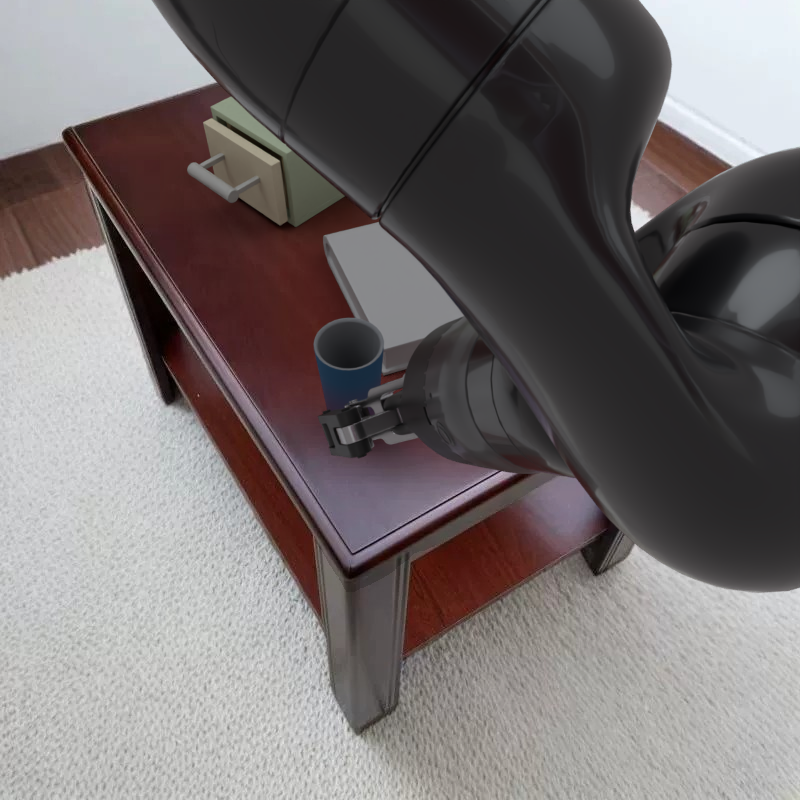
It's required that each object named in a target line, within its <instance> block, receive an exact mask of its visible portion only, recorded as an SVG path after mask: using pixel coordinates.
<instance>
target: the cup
mask: <svg viewBox="0 0 800 800" xmlns="http://www.w3.org/2000/svg"><path fill="white" fill-rule="evenodd" d="M383 351H384V339H383V336H382V334H381V332H380V331H379V330H378V328H377V327H376V326H374V325H373V324H371V323H370V322H368V321H365V320H362V319H358V318H355V317H343V318H342V317H341V318H338V319H334V320H332V321H330V322H327V323H326V324H325V325H323V326H322V327H321V328H320V329H319V330H318V331H317V332H316V335H315V337H314V340H313V352H314V355H315V360H316V366H317V370H318V374H319V379H320V380H319V381H320V384H321V388H322V393H323V398H324V403H325V407H326V410H328V409H331V411H333V410H336V409H343V408H345V407H344V406H345V404H347V403H349V401H352V400H354V399H357V400H361V399H365V398H367V397H368V392H369V390H370V389H372V388H374V387H377V386H379V385H382V375H383V374H382V362H383ZM367 408H368V410H369V413H370V415H374V414H375V413H374V410H373V409H372V408H371V407H367Z"/></svg>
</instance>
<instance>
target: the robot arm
mask: <svg viewBox="0 0 800 800" xmlns="http://www.w3.org/2000/svg"><path fill="white" fill-rule="evenodd" d="M151 2H152V3H153V4H154V6H155V8H156V9H157V10H158V12H159V13H160V15H161V16H162V18H163V19H164V21H165V22H166V23H167V25H168V26H169V28H170V29H171V30H172V31H173V33H174V34H175V35H176V37H177V38H178V39H179V40H180V41H181V43H182V44H183V45H184V47H185V48H186V49H187V50H188V52H189V53H190V55H192V57H193V58H194V59H195V60H196V61H197V62H198V63H199V64H200V65H201V67H202V68H203V69H204V70H205V71H206V72H207V73H208V74H209V75H210V76H211V78H212V79H214V81H215V82H216V83H217V84H218V85H219V86H220V87H221V88H222V89H223V90H224V91H225V92H226V93H227V94H228V95H229V97H232V98H233V99H234V100H235V101H237V102H238V103H239V104H240V105H241V106H242V107H243V108H244V109H245V110H246V111H247V112H248V113H249V114H250V115H251V116H252V117H253V118H255V119H256V120H257V121H258V122H259V123H260V124H261V125H263V126H264V127H265V128H266V129H267V130H268V131H270V132H271V133H272V134H273V135H274V136H275V137H276V138H278V139H279V140H280V141H281V142H282V143H283V144H286V146H287V147H288V148H289V149H291V150H292V151H293V152H294V153H295V154H296V155H298V156H299V157H300V158H301V159H302V160H303V161H305V162H306V163H307V164H308V165H309V166H310V167H312V168H313V169H314V170H315V171H316V172H317V173H319V174H320V175H321V176H322V177H323V178H324V179H325V180H327V181H328V182H329V183H330V184H331V185H332V186H334V187H335V188H336V189H337V190H338V191H339V192H341V193H342V194H343V195H344V196H345V197H344V198H346V199H348V200H349V202H351V203H352V204H353V205H354V206H356V208H358V209H359V210H360V211H361V212H362V213H364V215H366V216H367V217H369V219H371V220H378V222H379V225H380V226H381V228H382V229H383V230H385V231H386V232H387V233H388V234H389V235H391V236H392V237H393V238H394V239H395V240H396V241H397V242H399V243H400V244H401V245H402V246H403V247H404V248H405V249H407V250H408V251H409V252H410V253H411V254H412V255H413V256H414V257H415V258H416V259H417V260H418V261H419V262H420V263H421V264H422V266H423V267H424V268H425V269H426V270H427V271H428V272H429V273H430V275H431V276H432V277H433V278H434V279H435V280H436V281H437V283H438V284H439V285H440V286H441V287H442V289H443V290H444V291H445V292H446V294H447V295H448V296H449V297H450V299H451V300H452V301H453V302H454V304H455V305H456V306H457V307H458V309H459V310H460V311H461V312H462V314H463V315H464V316H463V317H460V318H458V319H455V320H453V321H450V322H448V323H445V324H443V325H441V326H439V327H438V328H436V329H435V330H433V331H432V332H431V333H429V334H428V335H427V336H426V337H425V338H424V339H423V340H422V341H421V343H420V344H419V345H418V346H417V348H416V349H415V351H414V353H413V354H412V356H411V358H410V361H409V363H408V366H407V369H405V373H404V374H403V375H402V377H400V378H396V379H394V380H391V381H387V382H385V383H381V385H379V386H377V387H374V388H372V389H370V390H369V392H368V397H367V398H365V399H361V400H357V399H354V400H352V401H349V403H347V404H345V406H344V407H345V408H343V409H336V410H333V411H331V409H328V410H327V409H326V410H323V411H322V414H319V415H317V419H318V423H319V424H320V425H321V427H322V430H323V433H324V436H325V438H326V442H327V445H328V449H329V452H330V455H331V456H335V457H342V458H348V459H354V458H357V459H361V458H364V457H366V456H367V455H368V453H370V452H372V451H373V448H374V447H375V443H374V441H375V440H380V439H381V440H383V442H384V443H385V444H387V445H395V444H399V443H403V442H407V441H411V440H415V439H419V440H420V441H421V442H422V443H423V444H424V445H426V446H427V447H428V448H429V449H430V450H432V451H433V452H435V453H436V454H437V455H439V456H441V457H443V458H445V459H447V460H449V461H452V462H454V463H459V464H464V465H469V466H473V467H478V468H482V469H483V468H484V469H488V470H492V471H494V470H495V471H498V472H503V473H511V474H519V475H534V474H548V475H554V476H558V477H567V478H570V479H576V480H577V482H578V483H579V484H580V486H581V487H582V488H583V490H584V491H585V493H586V494H587V495H588V496H589V498H590V500H591V501H592V502H593V503H594V504H595V506H596V507H597V508H598V509H599V510H600V511H601V512H602V513H603V515H604V516H605V517H606V518H607V519H608V520H609V521H610V522H611V523H612V524H613V525H614V526H615V527H616V528H617V529H618V530H619V531H620V532H621V533H622V534H623V535H624V536H626V538H628V539H629V540H630V541H631V542H632V543H633V544H635V546H637V547H638V548H639V549H641V550H642V551H643V552H645V553H646V554H648V556H651V558H653V559H655V560H656V561H658V562H659V563H660V564H663V565H665V566H666V567H668V568H669V569H671V570H673V571H675V572H677V573H679V574H681V575H683V576H685V577H687V578H690V579H692V580H695V581H698V582H701V583H704V584H706V585H710V586H712V587H716V588H719V589H724V590H731V591H737V592H746V593H754V594H767V593H779V592H790V591H793V590H797V589H800V146H795V147H791V148H785V149H781V150H778V151H774V152H770V153H766V154H764V155H760V156H758V157H755V158H752V159H749V160H747V161H744V162H741V163H739V164H737V165H735V166H732V167H730V168H728V169H727V170H724V171H722V172H720V173H719V174H717V175H715V176H713V177H711V178H710V179H708V180H706V181H705V182H703V183H701V184H700V185H698V186H696V187H695V188H693V189H692V190H690V191H688V193H686V194H684V195H683V196H681V197H680V198H679V199H677V200H675V201H674V202H673V203H672V204H670V205H669V206H667V207H666V208H665V209H663V210H662V211H660V212H659V213H658V214H656V215H655V216H654V217H652V218H651V219H650V220H648V221H647V222H646V223H644V224H643V225H642V226H640V227H639V228H638V229H636V230H635V228H634V225H633V223H632V222H633V221H632V212H631V211H632V210H631V207H632V200H633V190H634V183H635V180H636V178H637V175H638V171H639V169H640V164H641V161H642V159H643V156H644V154H645V152H646V149H647V146H648V144H649V141H650V139H651V136H652V134H653V132H654V129H655V126H656V124H657V121H658V119H659V117H660V114H661V112H662V109H663V107H664V103H665V100H666V98H667V95H668V92H669V89H670V85H671V80H672V72H673V58H672V52H671V51H672V50H671V48H670V45H669V42H668V39H667V37H666V35H665V33H664V31H663V29H662V28H661V26H660V25H659V23H658V21H657V20H656V19H655V18H654V16H653V15H652V14H651V13H650V12H649V10H648V9H647V8H646V7H645V5H644V4H643V3H642V2H641V0H151ZM398 390H399V391H398ZM395 391H397V392H395ZM394 392H395V393H394ZM367 407H371V408H372V409H373V410H374V413H375V414H374V415H370V413H369V410H368V408H367Z"/></svg>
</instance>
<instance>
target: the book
mask: <svg viewBox="0 0 800 800" xmlns="http://www.w3.org/2000/svg"><path fill="white" fill-rule="evenodd" d="M322 244H323V245H322V246H323V250H324V254H325V258H326V260H327V264H328V266H329V269H330V271H331V272H332V274H333V276H334V278H335V281H336V282H337V285H338V286H339V288H340V291H341V293H342V294H343V297H344V299H345V302H346V303H347V305H348V307H349V309H350V311H351V313H352V316H353V318H358V319H362V320H365V321H368V322H370V323H371V324H373V325H374V326H376V327H377V328H378V330H379V331H380V332H381V334H382V336H383V339H384V351H383V362H382V374H381V375H382V376H384V377H385V376H388V375H390V374H394V373H398V372H401V371H406V369H407V366H408V363H409V361H410V358H411V356H412V354H413V353H414V351H415V349H416V348H417V346H418V345H419V344H420V343H421V341H422V340H423V339H424V338H425V337H426V336H427V335H428V334H429V333H431V332H432V331H433V330H435V329H436V328H438V327H439V326H441V325H443V324H445V323H448V322H450V321H453V320H455V319H458V318H460V317H463V316H464V315H463V314H462V312H461V311H460V310H459V309H458V307H457V306H456V305H455V304H454V302H453V301H452V300H451V299H450V297H449V296H448V295H447V294H446V292H445V291H444V290H443V289H442V287H441V286H440V285H439V284H438V283H437V281H436V280H435V279H434V278H433V277H432V276H431V275H430V273H429V272H428V271H427V270H426V269H425V268H424V267H423V266H422V264H421V263H420V262H419V261H418V260H417V259H416V258H415V257H414V256H413V255H412V254H411V253H410V252H409V251H408V250H407V249H405V248H404V247H403V246H402V245H401V244H400V243H399V242H397V241H396V240H395V239H394V238H393V237H392V236H391V235H389V234H388V233H387V232H386V231H385V230H383V229H382V228H381V226H380V225H379V221H378V222H374V223H370V224H364V225H361V226H357V227H352V228H348V229H345V230H344V229H343V230H340V231H336V232H331V233H327V234H325V235H323V237H322Z"/></svg>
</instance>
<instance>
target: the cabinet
mask: <svg viewBox="0 0 800 800" xmlns="http://www.w3.org/2000/svg"><path fill="white" fill-rule="evenodd" d="M210 112H211V116H212V119H214V120H215V121H217V122H219V123H220V124H222V125H223V126H225V127H227V123H229V124H230V125H232V126H234V127H235V128H237V129H238V130H240V131H242V132H243V133H245V134H246V135H248V136H250V137H251V138H253V139H255V140H256V141H258V142H259V143H261V144H263V145H264V146H266V147H267V148H269V149H271V150H272V151H274V152H275V153H277V154H279V155H280V156H282V157H283V163H284V171H285V179H286V186H287V194H288V202H289V208H288V207H286V210H287V218H288V221H287V222H286V223H289V224H290V225H292V226H294V228H297V227H299V226H300V225H302V224H304V223H306V222H307V221H308V220H309V219H311V218H313V217H315V216H316V215H317V214H319V213H321V212H322V211H324V210H326V209H327V208H329V207H330V206H332V205H334V204H335V203H336V202H338V201H340V200H341V199H343V198H346V197H345V196H344V195H343V194H342V193H341V192H339V191H338V190H337V189H336V188H335V187H334V186H332V185H331V184H330V183H329V182H328V181H327V180H325V179H324V178H323V177H322V176H321V175H320V174H319V173H317V172H316V171H315V170H314V169H313V168H312V167H310V166H309V165H308V164H307V163H306V162H305V161H303V160H302V159H301V158H300V157H299V156H298V155H296V154H295V153H294V152H293V151H292V150H291V149H289V148H288V147H287V146H286V144H283V143H282V142H281V141H280V140H279V139H278V138H276V137H275V136H274V135H273V134H272V133H271V132H270V131H268V130H267V129H266V128H265V127H264V126H263V125H261V124H260V123H259V122H258V121H257V120H256V119H255V118H253V117H252V116H251V115H250V114H249V113H248V112H247V111H246V110H245V109H244V108H243V107H242V106H241V105H240V104H239V103H238V102H237V101H235V100H234V99H233V98H232V97H231V96H229V97H227V98H225V99H223V100H221V101H219V102H216V103H215V104H213V105H211V106H210ZM226 122H227V123H226Z"/></svg>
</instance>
